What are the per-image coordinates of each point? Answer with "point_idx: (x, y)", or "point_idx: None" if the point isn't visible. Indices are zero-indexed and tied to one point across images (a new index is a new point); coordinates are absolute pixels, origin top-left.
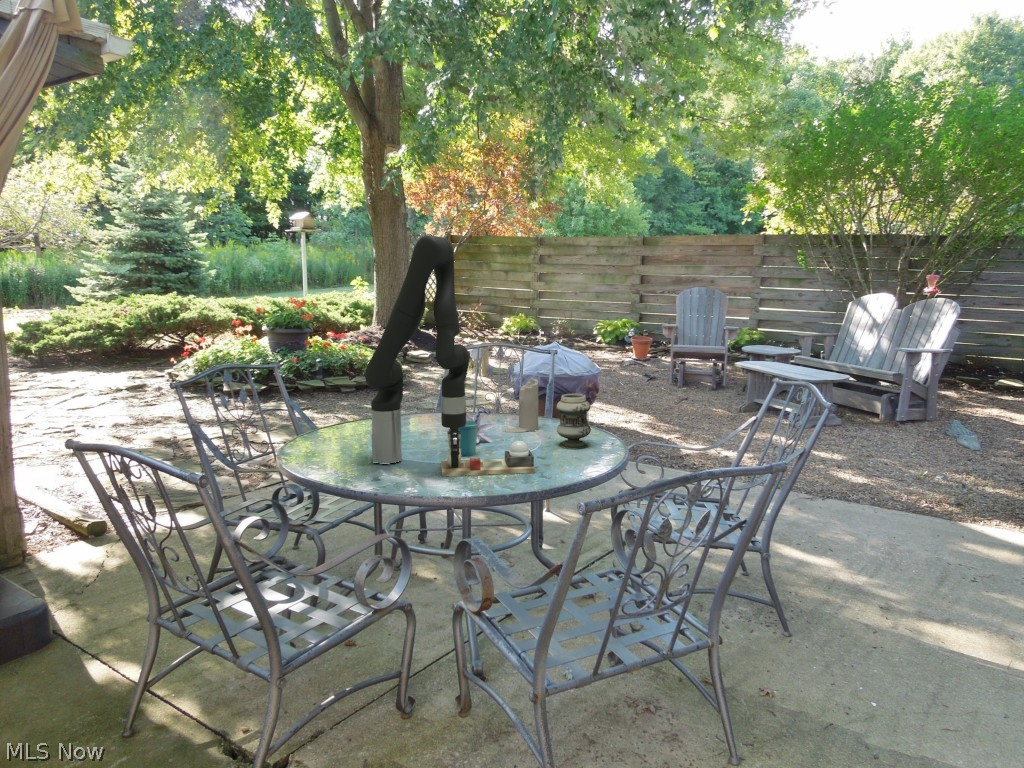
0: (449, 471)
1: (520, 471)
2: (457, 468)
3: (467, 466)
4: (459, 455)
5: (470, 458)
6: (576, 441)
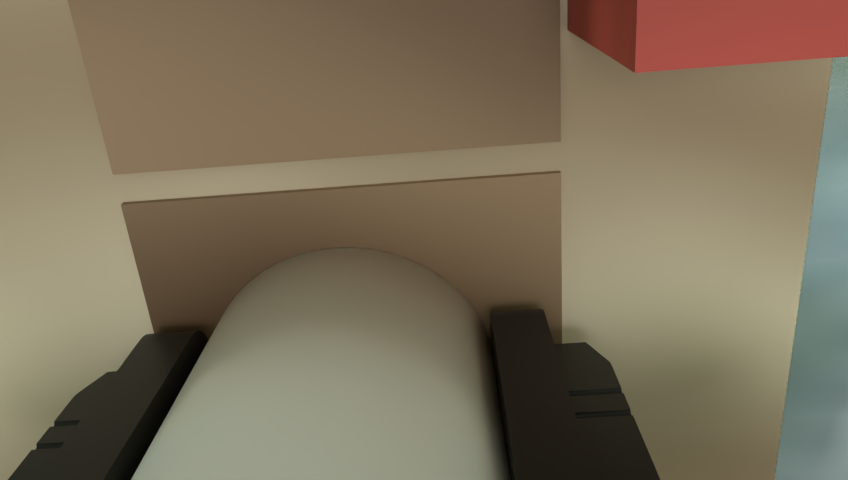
0: (773, 451)
1: None
2: (574, 313)
3: (462, 94)
4: (441, 445)
5: (665, 42)
6: None
